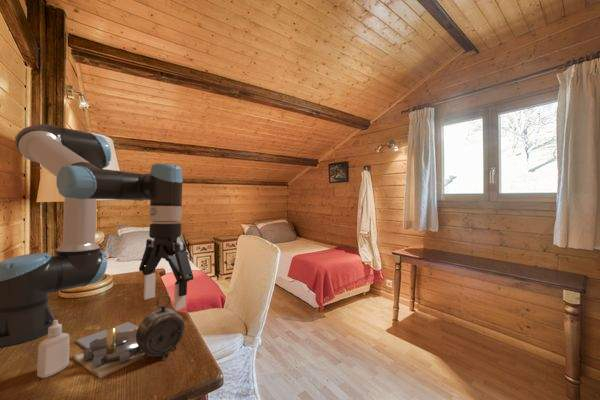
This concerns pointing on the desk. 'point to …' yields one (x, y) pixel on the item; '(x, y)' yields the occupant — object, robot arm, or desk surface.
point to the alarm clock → (160, 332)
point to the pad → (105, 334)
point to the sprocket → (113, 347)
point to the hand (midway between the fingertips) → (163, 303)
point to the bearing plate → (106, 364)
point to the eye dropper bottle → (53, 351)
